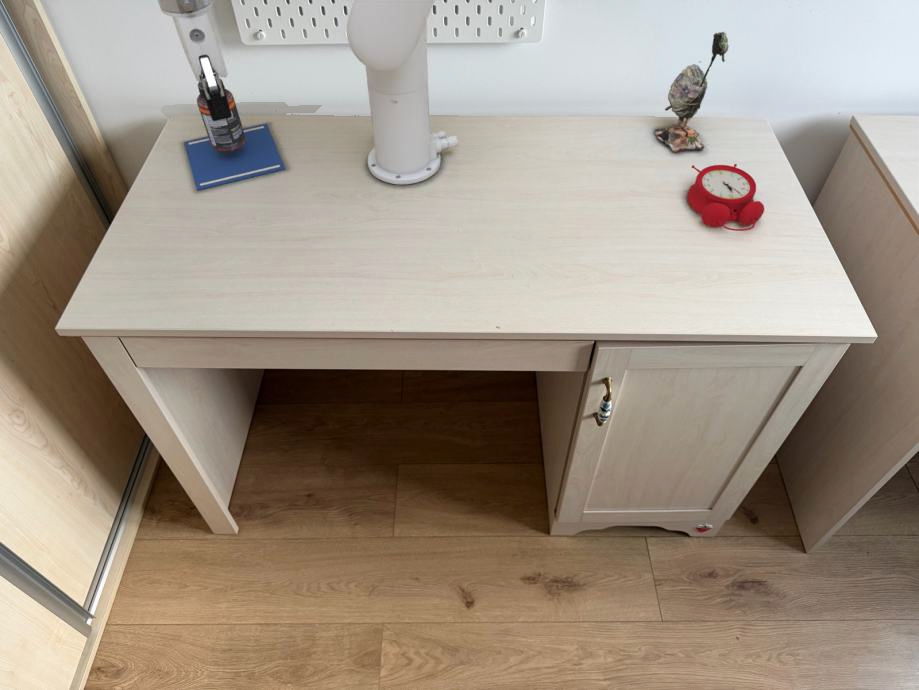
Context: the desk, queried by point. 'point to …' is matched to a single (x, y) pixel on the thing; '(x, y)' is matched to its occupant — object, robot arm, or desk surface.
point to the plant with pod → (689, 100)
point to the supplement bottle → (222, 123)
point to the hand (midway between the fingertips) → (218, 107)
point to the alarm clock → (725, 197)
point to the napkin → (234, 159)
